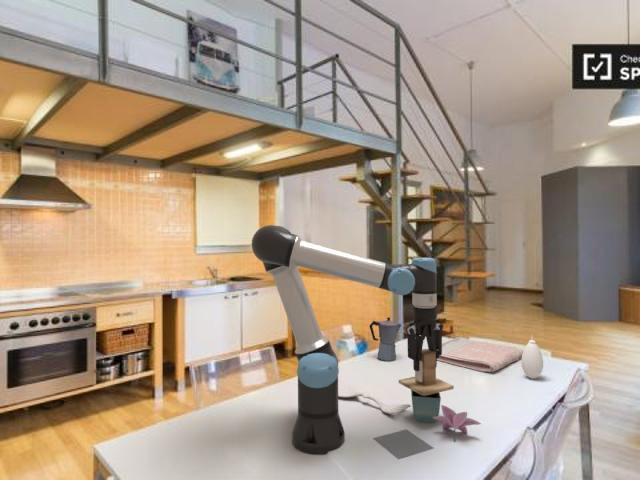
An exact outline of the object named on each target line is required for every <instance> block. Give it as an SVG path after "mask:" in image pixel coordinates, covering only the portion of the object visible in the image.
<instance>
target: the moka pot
mask: <svg viewBox="0 0 640 480" xmlns="http://www.w3.org/2000/svg"><path fill="white" fill-rule="evenodd" d="M373 326H376V327H377V326H378V336H379V338H376V336H375V331H374V327H373ZM401 327H402V324H401V323H399V322H395V321H392V320H391V317H390V316H389V317H386V320H381V321H377V320H376V321H375V320H373V321H372V322H371V323H370V324H369V330H370V333H371V335H372V339H373V341H379V344H378V345H379V346H378V351H377V359H378V360H381V361H385V362H393V361H396V359H397V352H396V344H395V343H396V339H397V336H398V335H397V334H398V332H399V330H400V329H401Z"/></svg>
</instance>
